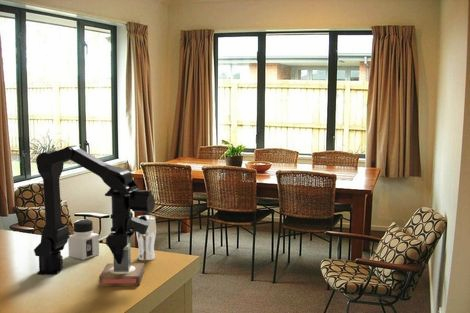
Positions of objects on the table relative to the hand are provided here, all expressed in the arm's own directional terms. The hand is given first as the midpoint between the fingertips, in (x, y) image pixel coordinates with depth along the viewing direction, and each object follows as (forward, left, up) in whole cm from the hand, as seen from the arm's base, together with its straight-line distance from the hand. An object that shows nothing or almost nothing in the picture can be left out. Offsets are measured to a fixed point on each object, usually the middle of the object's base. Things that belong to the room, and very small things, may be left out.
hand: (122, 258), depth 156 cm
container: (-18, +24, -7) cm, 31 cm away
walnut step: (0, 0, -6) cm, 6 cm away
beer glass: (+5, +20, -7) cm, 22 cm away
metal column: (0, 0, -3) cm, 3 cm away
